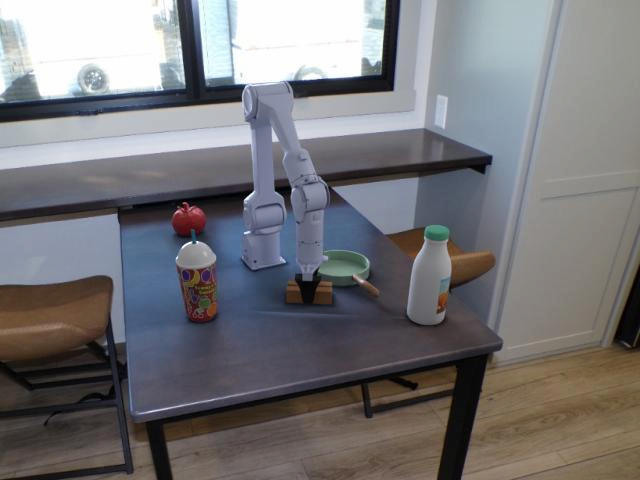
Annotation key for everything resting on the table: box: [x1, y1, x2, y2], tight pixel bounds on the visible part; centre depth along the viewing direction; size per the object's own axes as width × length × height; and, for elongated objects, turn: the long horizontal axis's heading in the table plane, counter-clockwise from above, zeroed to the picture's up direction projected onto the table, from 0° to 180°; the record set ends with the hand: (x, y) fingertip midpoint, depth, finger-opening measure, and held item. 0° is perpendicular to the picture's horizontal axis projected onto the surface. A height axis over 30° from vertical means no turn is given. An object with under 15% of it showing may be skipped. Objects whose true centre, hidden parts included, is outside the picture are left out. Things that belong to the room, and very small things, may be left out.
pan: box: [317, 249, 371, 287], centre depth 128 cm, size 15×15×3 cm
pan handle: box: [352, 274, 381, 299], centre depth 118 cm, size 10×2×2 cm, turn 23°
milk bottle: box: [406, 224, 452, 326], centre depth 105 cm, size 8×8×20 cm
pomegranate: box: [171, 202, 207, 237], centre depth 152 cm, size 10×10×9 cm
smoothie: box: [174, 229, 218, 323], centre depth 108 cm, size 8×8×20 cm
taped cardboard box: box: [285, 280, 333, 305], centre depth 117 cm, size 10×5×4 cm, turn 83°
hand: (309, 294), depth 117 cm, fingers open, 7 cm apart
